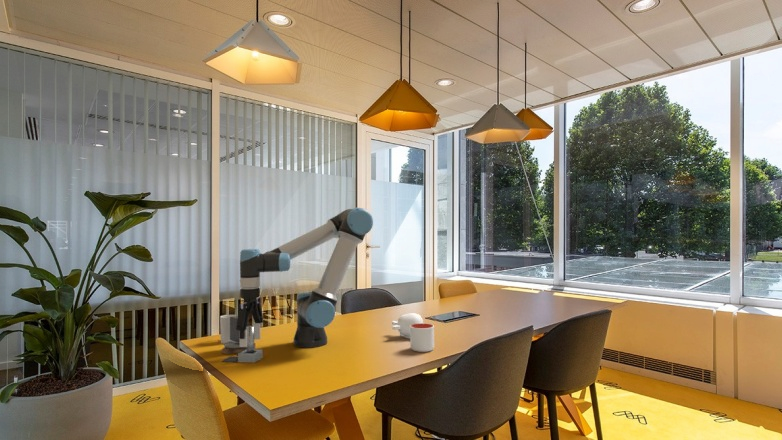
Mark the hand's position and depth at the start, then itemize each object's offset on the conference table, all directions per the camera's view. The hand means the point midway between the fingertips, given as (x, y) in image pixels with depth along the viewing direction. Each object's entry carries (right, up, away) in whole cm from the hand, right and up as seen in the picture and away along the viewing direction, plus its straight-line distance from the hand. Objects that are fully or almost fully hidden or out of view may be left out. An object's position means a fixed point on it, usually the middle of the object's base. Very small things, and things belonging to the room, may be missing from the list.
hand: (250, 342), depth 173 cm
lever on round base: (-9, -5, +13) cm, 17 cm away
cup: (+69, -6, +11) cm, 71 cm away
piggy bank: (+64, -7, +33) cm, 72 cm away
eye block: (0, -7, 0) cm, 7 cm away
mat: (-7, -7, 0) cm, 10 cm away
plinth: (-9, -7, +13) cm, 18 cm away
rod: (0, -7, 0) cm, 7 cm away
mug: (-20, -8, +29) cm, 36 cm away
